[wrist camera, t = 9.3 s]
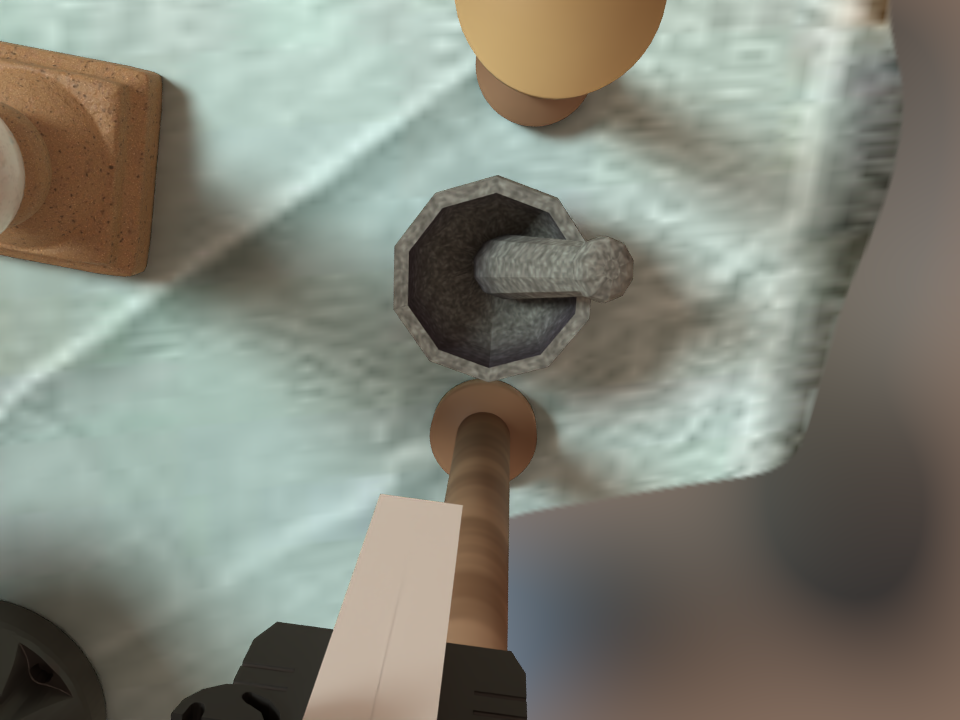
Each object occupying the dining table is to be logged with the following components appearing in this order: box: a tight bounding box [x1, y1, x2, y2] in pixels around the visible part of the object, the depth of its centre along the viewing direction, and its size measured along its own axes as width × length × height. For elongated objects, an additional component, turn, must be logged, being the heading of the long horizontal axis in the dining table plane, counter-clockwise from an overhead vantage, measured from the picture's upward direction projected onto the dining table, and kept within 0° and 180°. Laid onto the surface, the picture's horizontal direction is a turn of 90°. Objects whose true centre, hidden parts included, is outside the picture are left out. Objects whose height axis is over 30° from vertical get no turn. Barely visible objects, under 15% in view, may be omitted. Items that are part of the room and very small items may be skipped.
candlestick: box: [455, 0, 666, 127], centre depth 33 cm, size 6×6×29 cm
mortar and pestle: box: [394, 175, 633, 382], centre depth 43 cm, size 11×9×12 cm
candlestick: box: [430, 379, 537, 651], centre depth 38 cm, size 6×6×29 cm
